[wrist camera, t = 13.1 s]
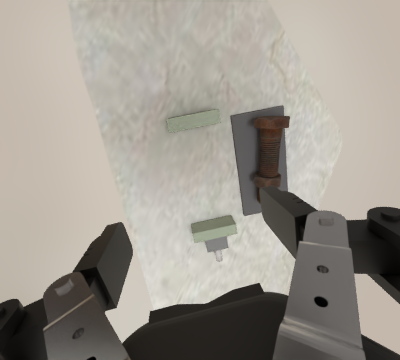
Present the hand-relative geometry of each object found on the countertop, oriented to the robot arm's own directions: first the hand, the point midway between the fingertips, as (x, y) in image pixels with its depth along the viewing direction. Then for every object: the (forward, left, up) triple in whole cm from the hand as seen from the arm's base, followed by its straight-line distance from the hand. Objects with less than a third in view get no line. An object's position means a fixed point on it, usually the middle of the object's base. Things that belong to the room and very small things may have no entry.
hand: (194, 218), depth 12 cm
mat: (+6, +14, -25) cm, 29 cm away
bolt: (+5, +14, -24) cm, 28 cm away
